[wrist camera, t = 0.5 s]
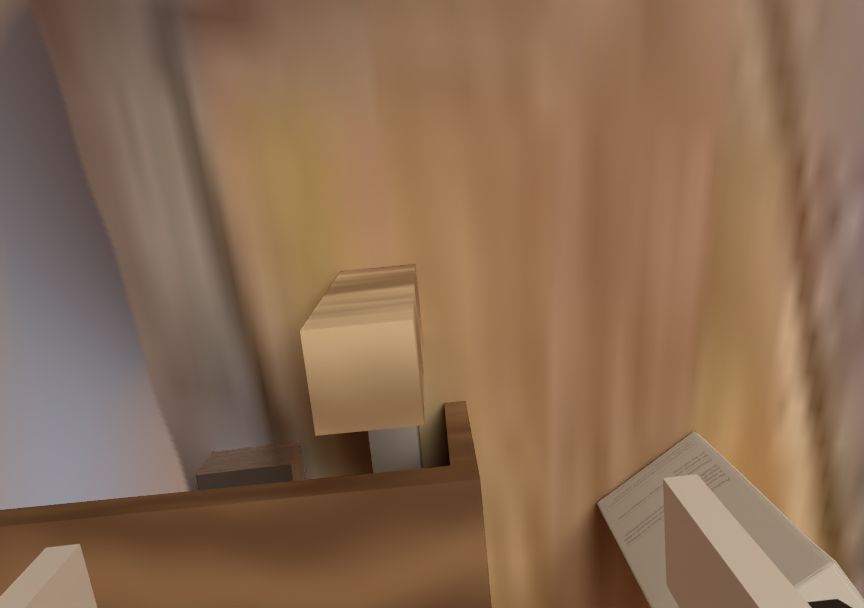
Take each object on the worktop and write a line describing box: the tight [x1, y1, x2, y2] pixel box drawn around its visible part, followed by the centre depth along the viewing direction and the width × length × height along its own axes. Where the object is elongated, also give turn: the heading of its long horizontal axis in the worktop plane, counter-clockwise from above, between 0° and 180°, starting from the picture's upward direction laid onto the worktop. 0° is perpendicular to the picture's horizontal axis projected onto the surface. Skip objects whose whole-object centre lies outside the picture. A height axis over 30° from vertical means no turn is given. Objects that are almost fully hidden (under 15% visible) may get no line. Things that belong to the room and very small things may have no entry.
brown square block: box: [196, 441, 306, 490], centre depth 36 cm, size 5×5×3 cm
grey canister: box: [597, 432, 864, 608], centre depth 32 cm, size 7×7×13 cm
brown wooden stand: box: [0, 401, 492, 608], centre depth 33 cm, size 14×22×9 cm, turn 96°
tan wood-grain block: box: [300, 264, 424, 473], centre depth 30 cm, size 17×4×12 cm, turn 6°
